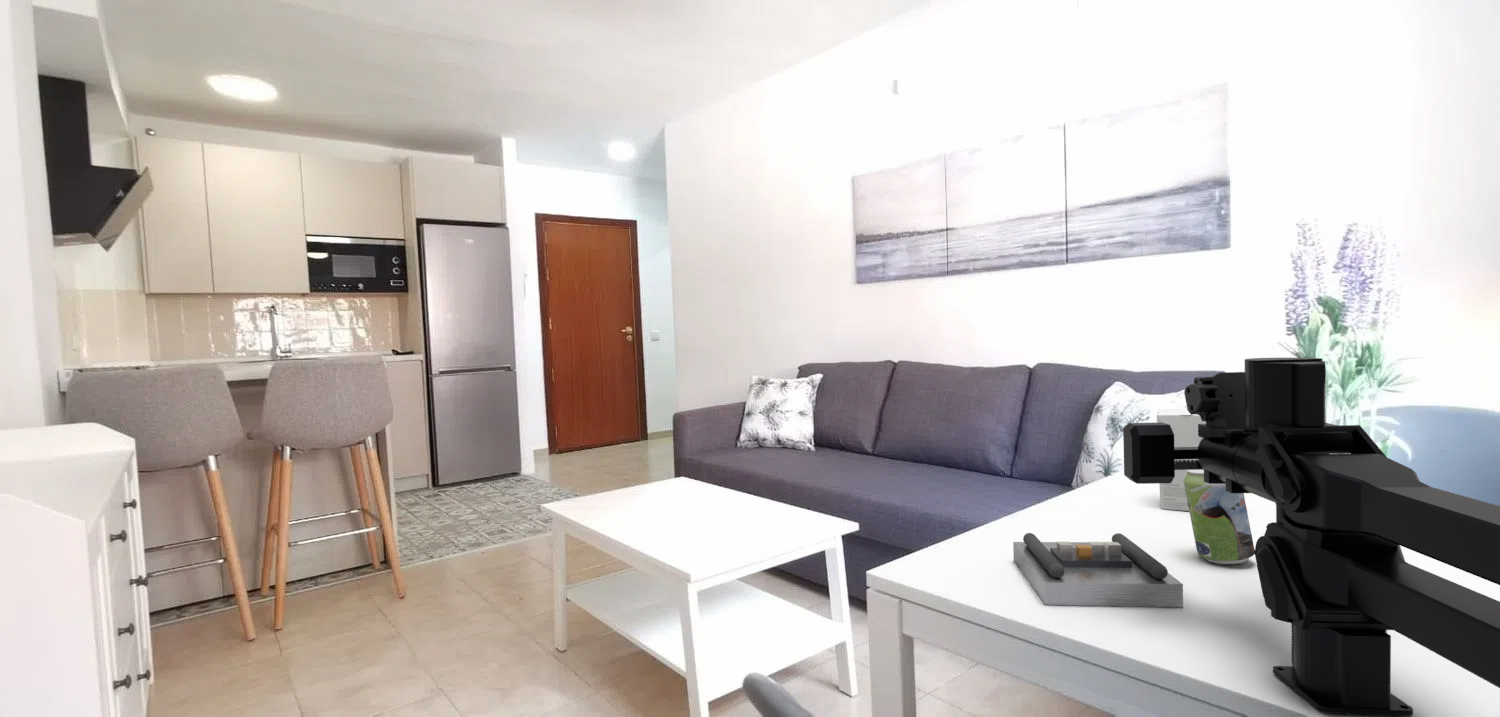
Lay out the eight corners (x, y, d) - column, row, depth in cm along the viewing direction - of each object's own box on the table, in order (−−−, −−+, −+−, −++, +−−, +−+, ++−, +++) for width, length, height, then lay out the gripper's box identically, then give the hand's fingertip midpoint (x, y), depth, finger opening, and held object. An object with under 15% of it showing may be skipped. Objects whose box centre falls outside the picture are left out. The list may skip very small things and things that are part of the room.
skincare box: (1219, 505, 111) (1218, 409, 110) (1221, 515, 105) (1220, 414, 104) (1158, 500, 115) (1157, 407, 114) (1157, 509, 109) (1156, 412, 109)
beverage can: (1265, 570, 83) (1264, 471, 82) (1197, 568, 84) (1196, 470, 83) (1239, 552, 89) (1238, 460, 88) (1176, 551, 90) (1175, 460, 90)
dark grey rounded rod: (1170, 581, 74) (1170, 567, 74) (1154, 581, 74) (1154, 566, 74) (1123, 544, 86) (1123, 531, 86) (1109, 544, 86) (1109, 531, 86)
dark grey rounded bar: (1066, 580, 75) (1066, 565, 75) (1051, 580, 75) (1051, 565, 75) (1035, 543, 88) (1034, 531, 88) (1021, 543, 88) (1021, 531, 88)
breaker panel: (1183, 607, 73) (1182, 565, 73) (1045, 604, 75) (1044, 564, 75) (1128, 562, 87) (1128, 526, 87) (1013, 560, 89) (1012, 526, 89)
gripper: (1374, 376, 63) (1269, 367, 78) (1157, 383, 65) (1097, 372, 81) (1375, 497, 63) (1271, 463, 79) (1159, 498, 66) (1099, 466, 81)
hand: (1183, 438), depth 80 cm, fingers open, 9 cm apart
